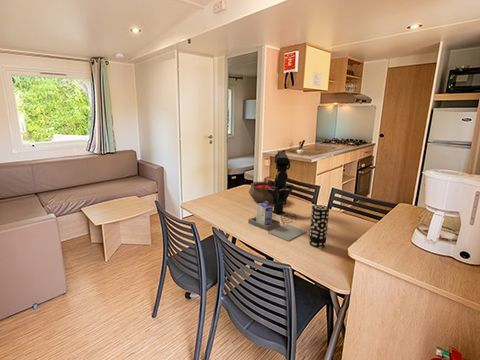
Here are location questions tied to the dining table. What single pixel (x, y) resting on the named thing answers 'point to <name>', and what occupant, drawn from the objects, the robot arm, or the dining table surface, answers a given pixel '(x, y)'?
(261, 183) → the dark brown bowl
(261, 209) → the ink cartridge box
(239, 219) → the dining table surface
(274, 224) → the grey rectangular frame
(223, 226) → the dining table surface
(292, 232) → the mat
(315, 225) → the spotted tube
